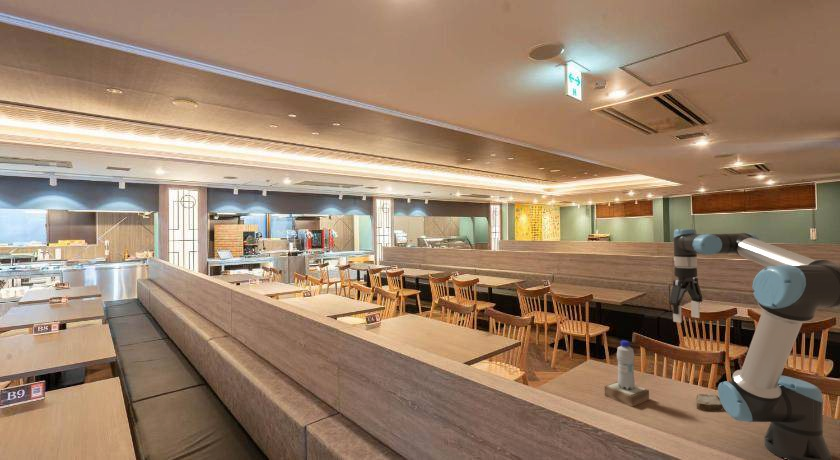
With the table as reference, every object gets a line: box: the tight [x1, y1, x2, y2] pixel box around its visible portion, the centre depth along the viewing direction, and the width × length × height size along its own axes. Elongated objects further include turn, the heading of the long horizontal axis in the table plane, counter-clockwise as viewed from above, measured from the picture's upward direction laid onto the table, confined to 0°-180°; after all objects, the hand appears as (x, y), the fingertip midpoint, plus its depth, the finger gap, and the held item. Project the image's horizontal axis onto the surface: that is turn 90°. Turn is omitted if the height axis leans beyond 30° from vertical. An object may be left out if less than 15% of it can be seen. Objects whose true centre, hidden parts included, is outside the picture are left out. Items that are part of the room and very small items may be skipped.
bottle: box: [616, 339, 636, 390], centre depth 160 cm, size 7×7×20 cm
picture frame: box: [604, 381, 650, 408], centre depth 161 cm, size 12×12×4 cm
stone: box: [696, 393, 723, 412], centre depth 153 cm, size 15×8×3 cm, turn 143°
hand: (686, 319), depth 152 cm, fingers open, 13 cm apart
